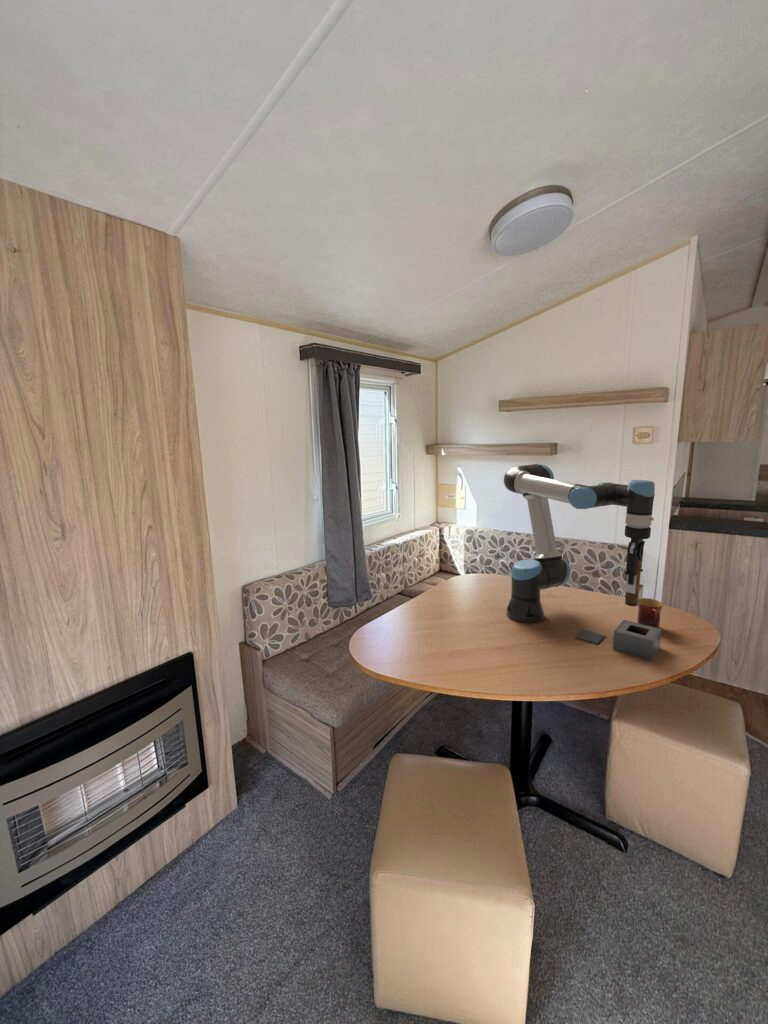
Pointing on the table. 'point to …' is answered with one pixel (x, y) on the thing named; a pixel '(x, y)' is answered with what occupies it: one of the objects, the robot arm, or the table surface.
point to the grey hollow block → (637, 639)
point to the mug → (649, 612)
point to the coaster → (589, 636)
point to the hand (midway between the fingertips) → (632, 590)
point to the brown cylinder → (633, 598)
